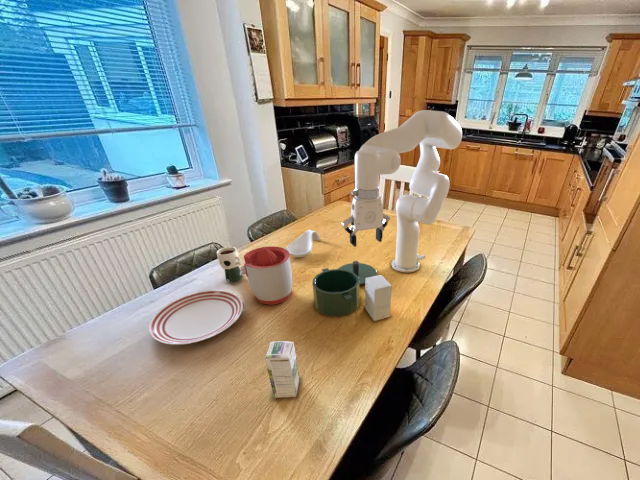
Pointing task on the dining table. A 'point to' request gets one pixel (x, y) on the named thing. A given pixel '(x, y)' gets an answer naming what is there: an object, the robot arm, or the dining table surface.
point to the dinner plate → (196, 317)
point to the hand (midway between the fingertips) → (366, 242)
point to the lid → (360, 270)
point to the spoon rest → (302, 244)
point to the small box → (377, 297)
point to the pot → (336, 292)
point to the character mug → (230, 263)
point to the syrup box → (282, 369)
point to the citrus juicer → (268, 274)
